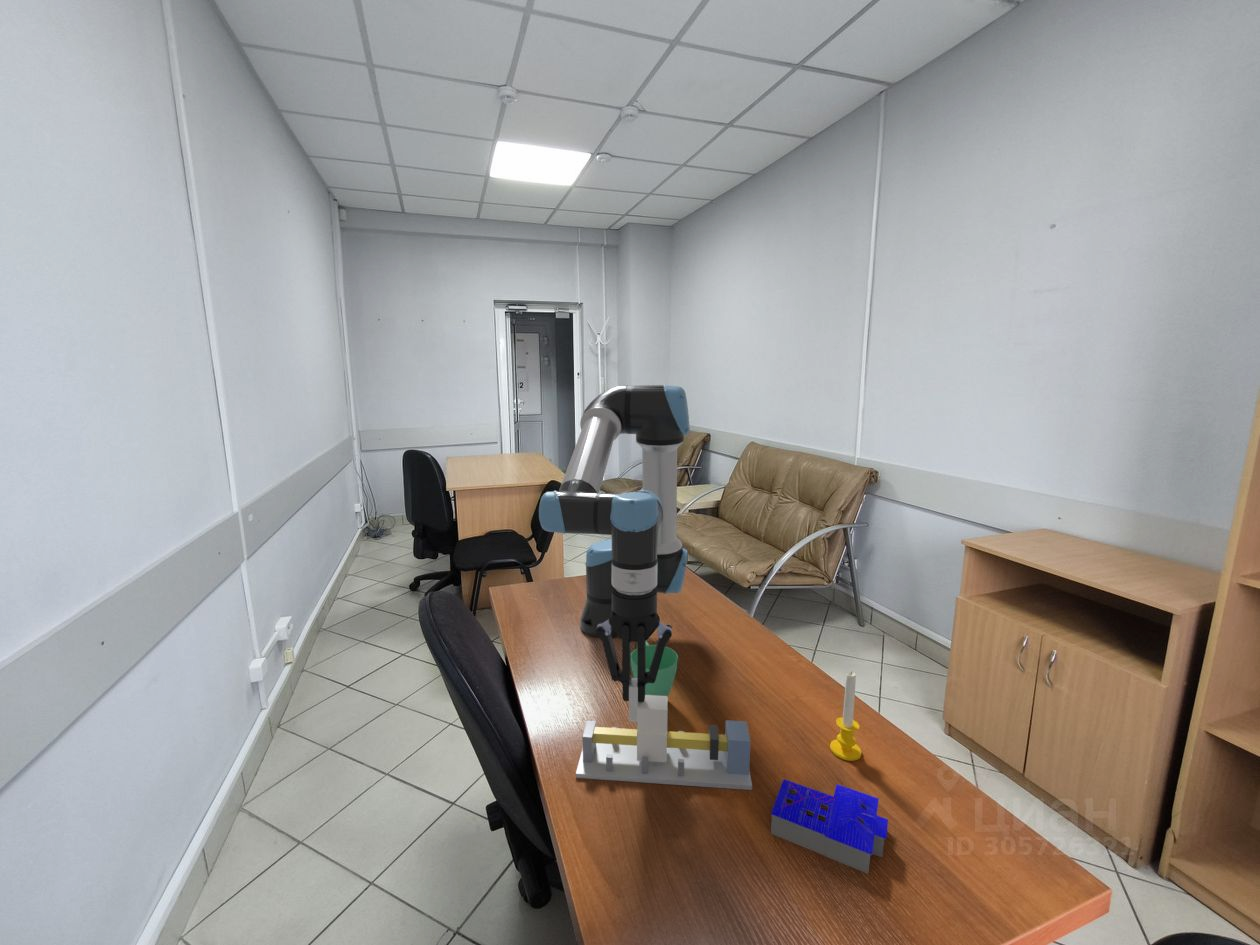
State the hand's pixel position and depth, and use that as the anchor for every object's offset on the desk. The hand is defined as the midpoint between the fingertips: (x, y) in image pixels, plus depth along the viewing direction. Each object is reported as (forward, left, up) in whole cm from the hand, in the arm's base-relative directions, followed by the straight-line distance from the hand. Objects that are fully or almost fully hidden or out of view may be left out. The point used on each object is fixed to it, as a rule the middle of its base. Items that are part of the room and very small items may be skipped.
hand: (633, 716), depth 91 cm
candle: (-6, +38, -9) cm, 39 cm away
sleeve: (0, +3, -6) cm, 7 cm away
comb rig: (0, +5, -8) cm, 10 cm away
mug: (-20, +2, -9) cm, 22 cm away
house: (+11, +30, -9) cm, 34 cm away
